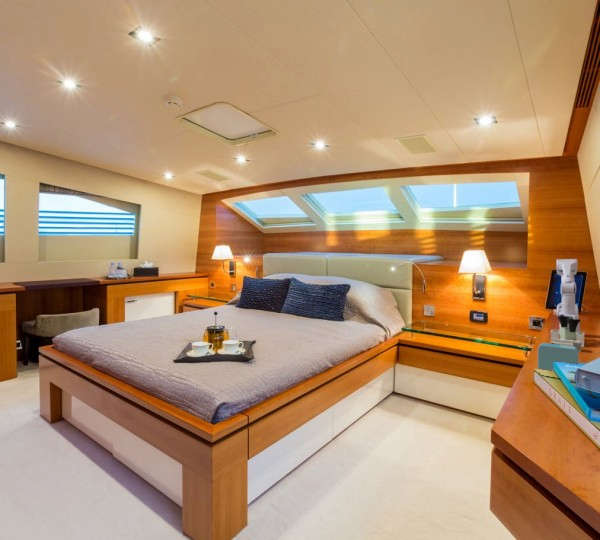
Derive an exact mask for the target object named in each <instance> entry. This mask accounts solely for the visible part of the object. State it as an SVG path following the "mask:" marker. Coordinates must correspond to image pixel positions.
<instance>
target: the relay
mask: <svg viewBox="0 0 600 540" xmlns="http://www.w3.org/2000/svg"><path fill="white" fill-rule="evenodd" d="M573 346H574V347H576V348H577V349H578V351H581V352H582V348H583V347H582V342H581V341H574V342H573Z"/></svg>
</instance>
